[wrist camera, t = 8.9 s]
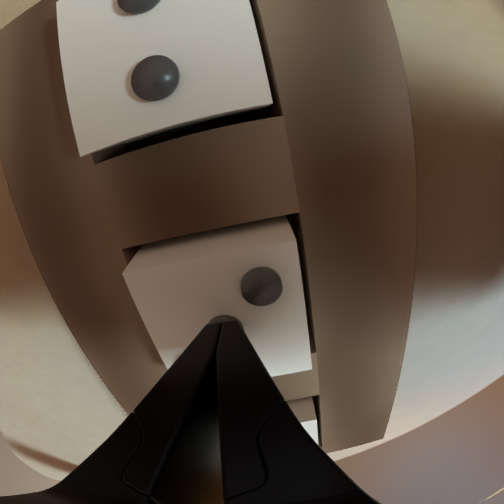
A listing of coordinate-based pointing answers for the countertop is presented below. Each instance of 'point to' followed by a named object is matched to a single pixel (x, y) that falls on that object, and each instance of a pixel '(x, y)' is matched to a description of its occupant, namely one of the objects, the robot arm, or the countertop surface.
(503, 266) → the countertop surface
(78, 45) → the key two dots
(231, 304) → the key three dots
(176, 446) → the robot arm
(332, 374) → the key panel
